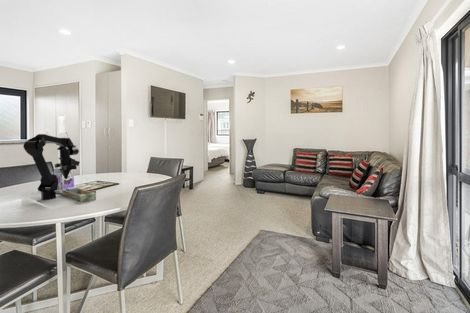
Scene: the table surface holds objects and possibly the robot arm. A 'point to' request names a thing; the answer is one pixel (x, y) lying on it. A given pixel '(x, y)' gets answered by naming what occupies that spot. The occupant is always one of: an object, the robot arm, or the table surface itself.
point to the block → (72, 190)
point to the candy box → (62, 181)
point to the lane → (81, 195)
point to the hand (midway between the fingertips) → (66, 178)
